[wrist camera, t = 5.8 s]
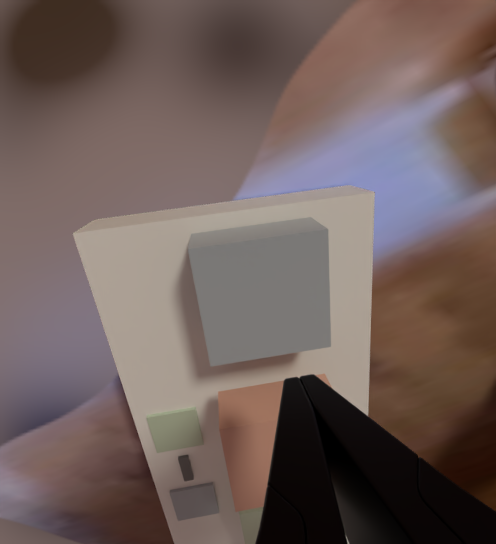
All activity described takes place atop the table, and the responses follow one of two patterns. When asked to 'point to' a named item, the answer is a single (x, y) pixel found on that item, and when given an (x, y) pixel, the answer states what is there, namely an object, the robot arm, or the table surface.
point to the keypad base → (192, 345)
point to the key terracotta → (250, 438)
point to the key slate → (262, 289)
